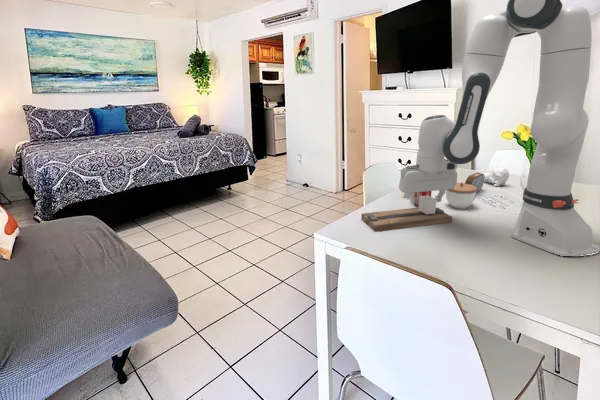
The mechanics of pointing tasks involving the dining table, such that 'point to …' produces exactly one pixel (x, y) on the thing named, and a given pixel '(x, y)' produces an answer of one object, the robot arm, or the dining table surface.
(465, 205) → the lidded jar
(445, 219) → the fader board
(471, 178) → the tin
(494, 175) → the white irregular lump
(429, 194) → the beverage can
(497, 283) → the dining table surface
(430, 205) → the fader tab
